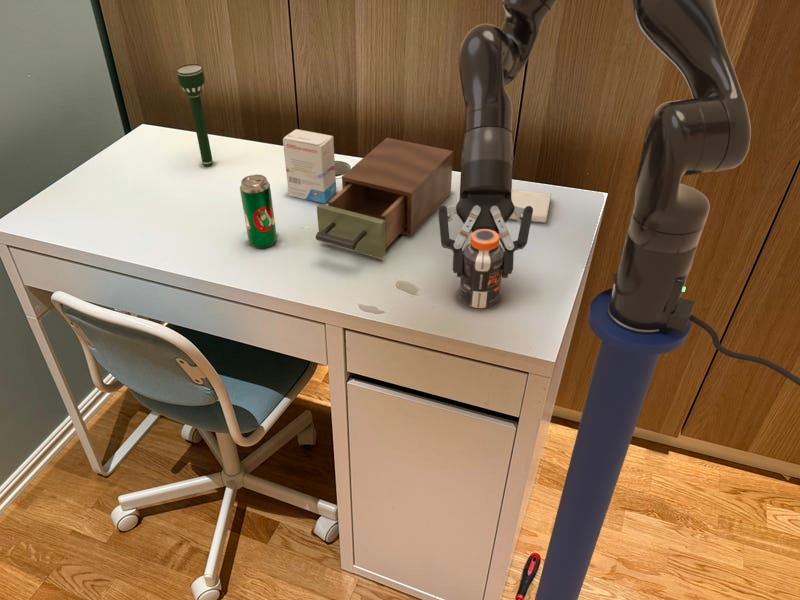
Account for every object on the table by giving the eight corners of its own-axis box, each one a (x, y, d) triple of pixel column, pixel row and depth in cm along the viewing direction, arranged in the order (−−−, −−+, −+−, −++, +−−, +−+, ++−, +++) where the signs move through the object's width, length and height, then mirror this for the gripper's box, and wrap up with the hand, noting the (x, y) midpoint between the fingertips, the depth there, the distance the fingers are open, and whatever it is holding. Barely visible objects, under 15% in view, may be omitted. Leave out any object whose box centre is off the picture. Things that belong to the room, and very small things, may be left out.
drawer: (367, 274, 115) (366, 239, 111) (304, 255, 121) (300, 220, 116) (423, 214, 128) (424, 180, 123) (363, 199, 133) (362, 166, 128)
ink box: (338, 192, 138) (334, 134, 130) (325, 204, 134) (321, 145, 127) (300, 183, 141) (295, 126, 133) (287, 195, 138) (280, 137, 130)
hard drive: (545, 224, 124) (474, 216, 128) (550, 200, 130) (481, 193, 133) (547, 216, 123) (474, 208, 127) (551, 192, 129) (482, 186, 132)
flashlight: (220, 157, 152) (203, 62, 139) (219, 169, 148) (202, 72, 135) (196, 160, 152) (177, 65, 139) (195, 171, 148) (175, 75, 135)
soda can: (252, 233, 129) (242, 173, 121) (279, 234, 128) (271, 173, 120) (246, 249, 125) (235, 188, 117) (274, 249, 124) (265, 188, 116)
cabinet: (410, 237, 124) (411, 193, 118) (344, 219, 130) (341, 176, 124) (450, 193, 134) (453, 150, 128) (387, 178, 140) (386, 137, 134)
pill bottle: (491, 313, 107) (498, 250, 100) (453, 303, 110) (458, 241, 102) (503, 291, 111) (511, 229, 103) (467, 282, 113) (472, 220, 106)
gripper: (532, 172, 109) (528, 282, 108) (437, 172, 111) (432, 279, 110) (540, 156, 101) (535, 273, 101) (438, 156, 104) (433, 271, 103)
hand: (481, 276), depth 106 cm, fingers closed on pill bottle, 6 cm apart
